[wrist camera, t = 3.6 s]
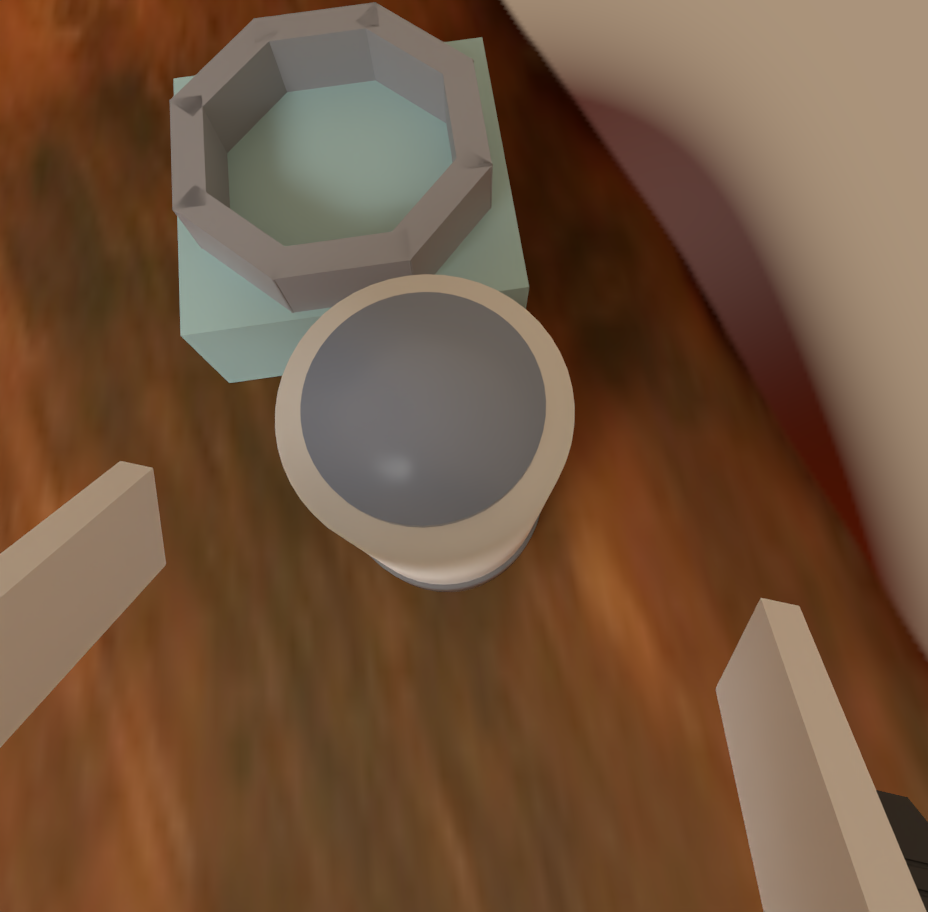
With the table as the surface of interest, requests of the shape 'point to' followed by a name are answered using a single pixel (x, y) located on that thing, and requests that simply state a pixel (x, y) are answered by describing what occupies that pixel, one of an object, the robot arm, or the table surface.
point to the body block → (331, 177)
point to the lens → (427, 426)
